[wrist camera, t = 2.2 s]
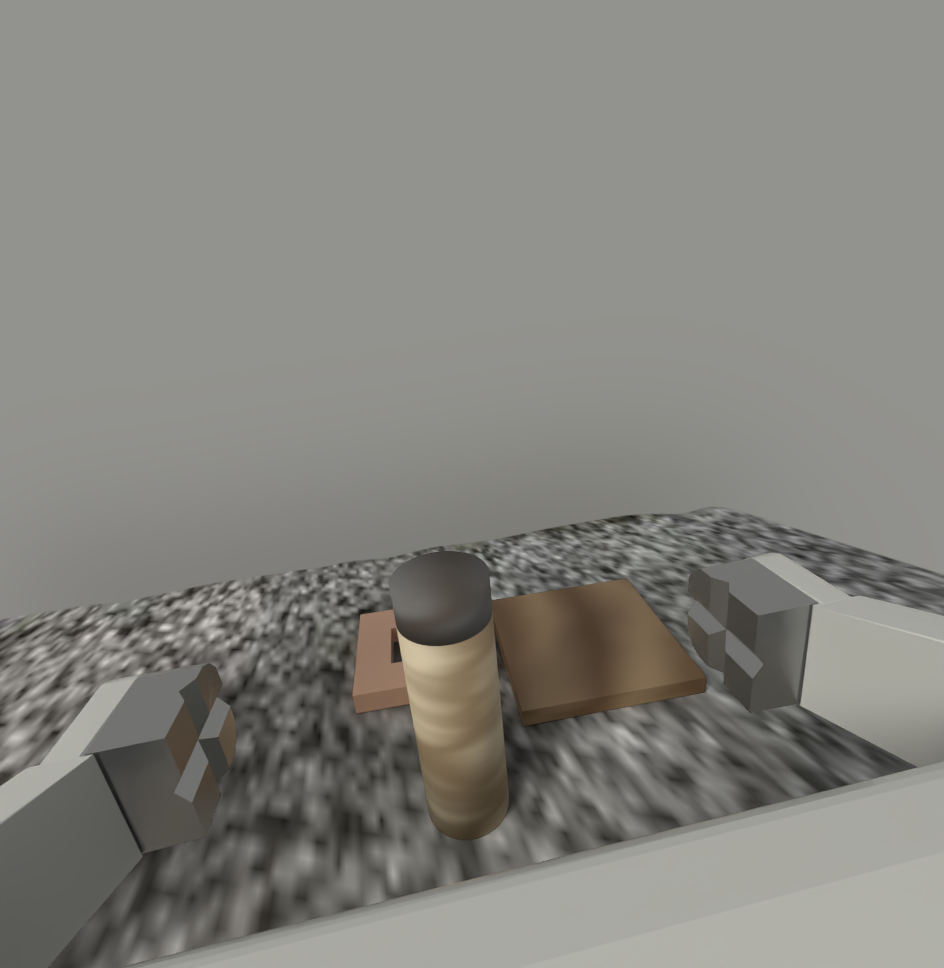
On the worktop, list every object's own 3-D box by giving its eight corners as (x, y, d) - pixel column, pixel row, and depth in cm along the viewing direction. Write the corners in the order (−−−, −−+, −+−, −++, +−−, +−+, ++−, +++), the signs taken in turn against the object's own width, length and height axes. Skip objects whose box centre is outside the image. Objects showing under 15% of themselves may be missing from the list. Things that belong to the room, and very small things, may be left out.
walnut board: (523, 726, 32) (522, 711, 31) (489, 612, 43) (488, 600, 42) (704, 691, 33) (706, 677, 32) (626, 590, 44) (626, 578, 44)
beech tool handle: (430, 848, 25) (388, 613, 20) (425, 770, 29) (389, 559, 24) (517, 830, 26) (497, 595, 21) (500, 756, 30) (480, 545, 25)
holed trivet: (356, 713, 34) (352, 696, 33) (363, 629, 42) (360, 614, 42) (489, 689, 35) (487, 672, 34) (471, 612, 43) (469, 597, 43)
